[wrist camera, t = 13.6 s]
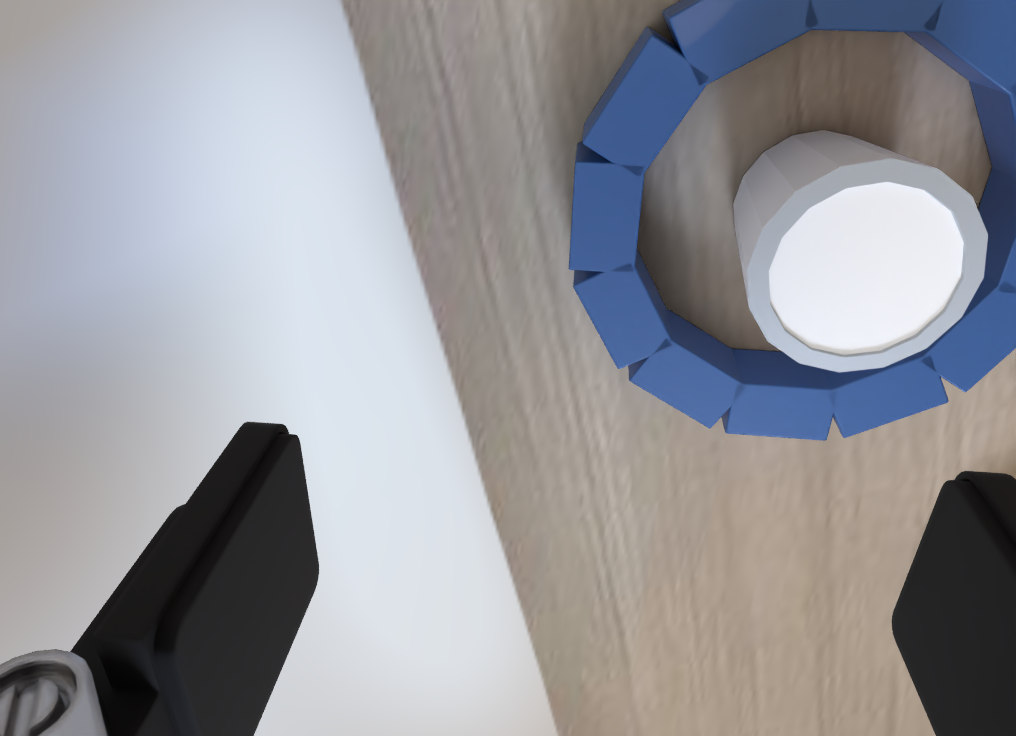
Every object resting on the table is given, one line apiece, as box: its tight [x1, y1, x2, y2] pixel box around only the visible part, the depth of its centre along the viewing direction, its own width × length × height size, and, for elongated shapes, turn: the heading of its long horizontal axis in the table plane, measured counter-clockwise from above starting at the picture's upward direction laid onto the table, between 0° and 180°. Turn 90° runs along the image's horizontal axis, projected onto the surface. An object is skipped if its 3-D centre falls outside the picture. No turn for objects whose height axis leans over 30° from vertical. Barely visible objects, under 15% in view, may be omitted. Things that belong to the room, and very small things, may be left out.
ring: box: [569, 0, 1016, 440], centre depth 27 cm, size 17×17×3 cm
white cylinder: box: [733, 130, 988, 373], centre depth 26 cm, size 7×7×7 cm
